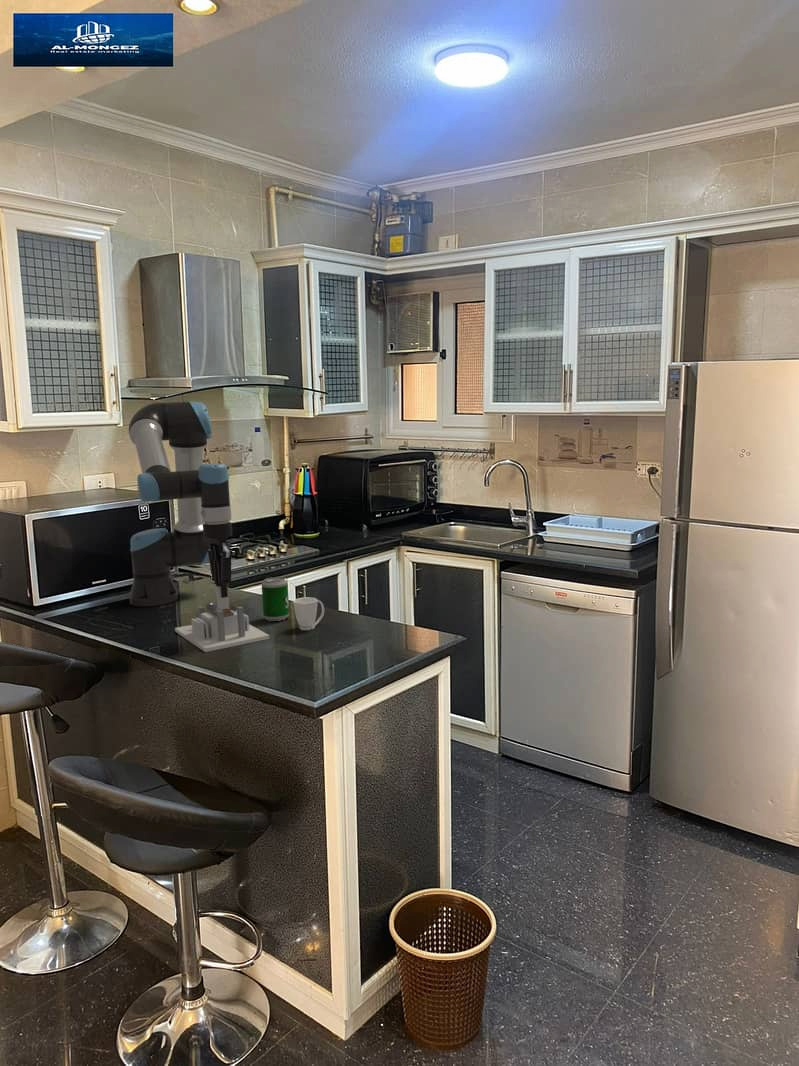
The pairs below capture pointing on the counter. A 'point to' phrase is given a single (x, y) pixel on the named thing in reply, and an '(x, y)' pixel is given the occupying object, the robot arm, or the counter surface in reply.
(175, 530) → the robot arm
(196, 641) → the heatsink base
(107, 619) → the counter surface
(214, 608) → the lever
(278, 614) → the soda can
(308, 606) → the cup
